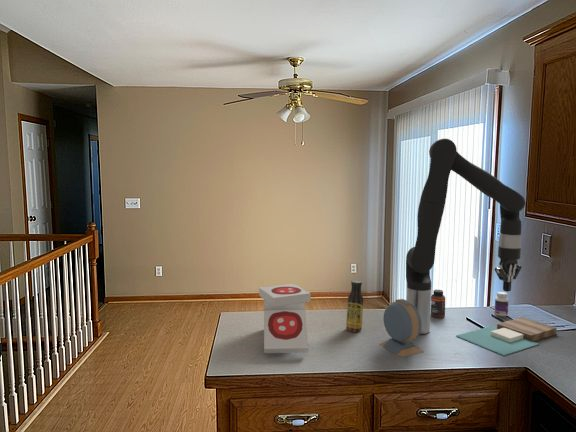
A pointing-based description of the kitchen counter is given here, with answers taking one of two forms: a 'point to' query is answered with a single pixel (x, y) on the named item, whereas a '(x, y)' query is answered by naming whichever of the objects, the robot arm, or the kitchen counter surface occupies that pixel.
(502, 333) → the tile
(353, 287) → the sauce bottle
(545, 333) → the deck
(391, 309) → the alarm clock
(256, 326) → the kitchen counter surface
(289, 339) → the pizza boxes
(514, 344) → the mat
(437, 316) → the supplement bottle
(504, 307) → the pill bottle
